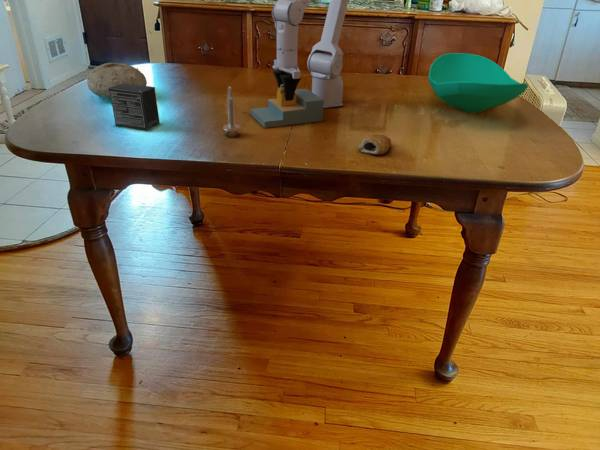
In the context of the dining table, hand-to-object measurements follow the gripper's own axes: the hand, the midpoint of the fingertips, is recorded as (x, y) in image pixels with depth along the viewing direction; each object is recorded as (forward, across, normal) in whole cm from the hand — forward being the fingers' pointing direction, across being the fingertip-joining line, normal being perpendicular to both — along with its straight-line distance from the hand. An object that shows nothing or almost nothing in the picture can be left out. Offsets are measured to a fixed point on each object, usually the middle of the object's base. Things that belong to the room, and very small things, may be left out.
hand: (286, 98), depth 131 cm
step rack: (+6, 0, 0) cm, 6 cm away
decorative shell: (+6, -36, -43) cm, 56 cm away
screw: (+6, +8, -19) cm, 21 cm away
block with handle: (+2, 0, 0) cm, 2 cm away
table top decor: (+6, +12, +59) cm, 60 cm away
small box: (+6, -8, -41) cm, 42 cm away
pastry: (+6, +30, +12) cm, 33 cm away
